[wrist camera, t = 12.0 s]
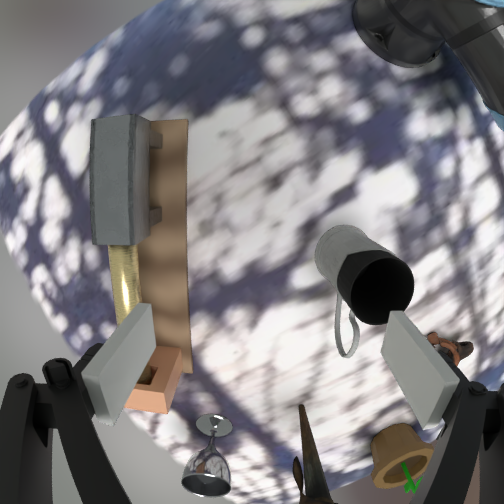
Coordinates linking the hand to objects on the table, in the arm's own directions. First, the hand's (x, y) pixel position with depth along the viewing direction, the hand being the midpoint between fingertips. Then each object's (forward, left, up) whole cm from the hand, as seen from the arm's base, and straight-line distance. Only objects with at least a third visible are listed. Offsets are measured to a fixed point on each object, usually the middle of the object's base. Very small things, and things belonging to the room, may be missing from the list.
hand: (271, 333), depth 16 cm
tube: (+7, -16, -21) cm, 27 cm away
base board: (+4, -16, -28) cm, 33 cm away
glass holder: (+5, +12, -28) cm, 31 cm away
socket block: (+20, -16, -27) cm, 37 cm away
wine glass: (+37, -7, -28) cm, 47 cm away
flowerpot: (+45, +31, -28) cm, 62 cm away
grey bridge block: (-8, -16, -27) cm, 32 cm away
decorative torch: (+31, +9, -28) cm, 43 cm away
